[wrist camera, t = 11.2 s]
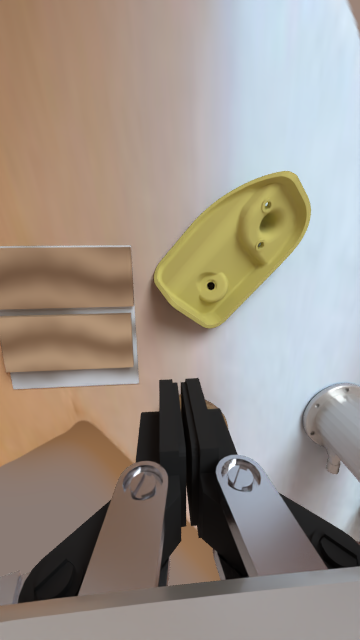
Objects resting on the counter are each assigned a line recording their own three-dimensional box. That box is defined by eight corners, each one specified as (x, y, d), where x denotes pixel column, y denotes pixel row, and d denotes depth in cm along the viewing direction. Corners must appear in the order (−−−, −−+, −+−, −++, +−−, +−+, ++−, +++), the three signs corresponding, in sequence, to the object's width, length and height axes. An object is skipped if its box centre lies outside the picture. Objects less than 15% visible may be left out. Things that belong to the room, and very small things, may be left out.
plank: (134, 363, 39) (133, 367, 37) (10, 368, 37) (6, 372, 36) (131, 312, 37) (130, 314, 36) (1, 316, 35) (-4, 317, 34)
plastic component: (213, 333, 37) (165, 302, 30) (192, 306, 42) (148, 275, 36) (320, 223, 32) (290, 160, 26) (282, 209, 38) (249, 154, 31)
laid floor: (138, 382, 40) (138, 387, 39) (14, 388, 39) (9, 393, 38) (130, 245, 35) (129, 245, 33) (-16, 246, 33) (-23, 246, 32)
